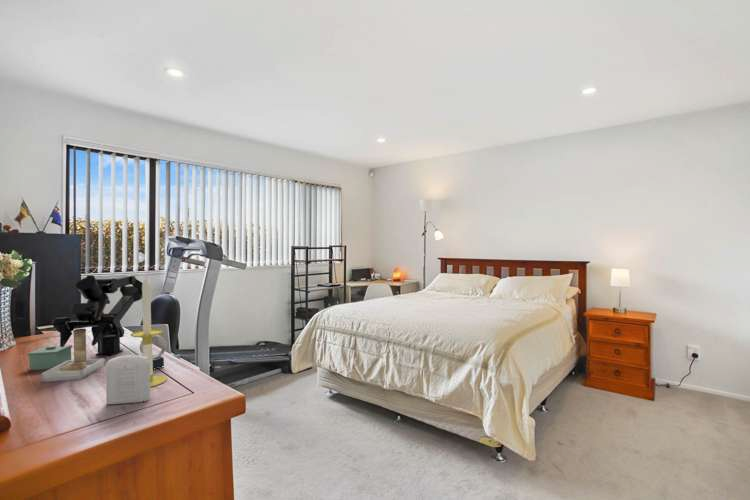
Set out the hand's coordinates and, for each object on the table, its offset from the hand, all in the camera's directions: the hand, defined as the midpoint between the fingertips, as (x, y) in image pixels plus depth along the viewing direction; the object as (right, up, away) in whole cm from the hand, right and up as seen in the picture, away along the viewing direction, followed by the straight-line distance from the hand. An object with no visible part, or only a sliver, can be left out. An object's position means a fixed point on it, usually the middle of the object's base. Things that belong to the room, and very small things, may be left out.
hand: (77, 345), depth 123 cm
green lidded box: (-14, -9, +6) cm, 18 cm away
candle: (+30, -9, -10) cm, 33 cm away
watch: (+23, -8, +4) cm, 25 cm away
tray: (0, -9, -1) cm, 9 cm away
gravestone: (+33, -9, -24) cm, 42 cm away
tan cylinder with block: (0, -8, -1) cm, 8 cm away
